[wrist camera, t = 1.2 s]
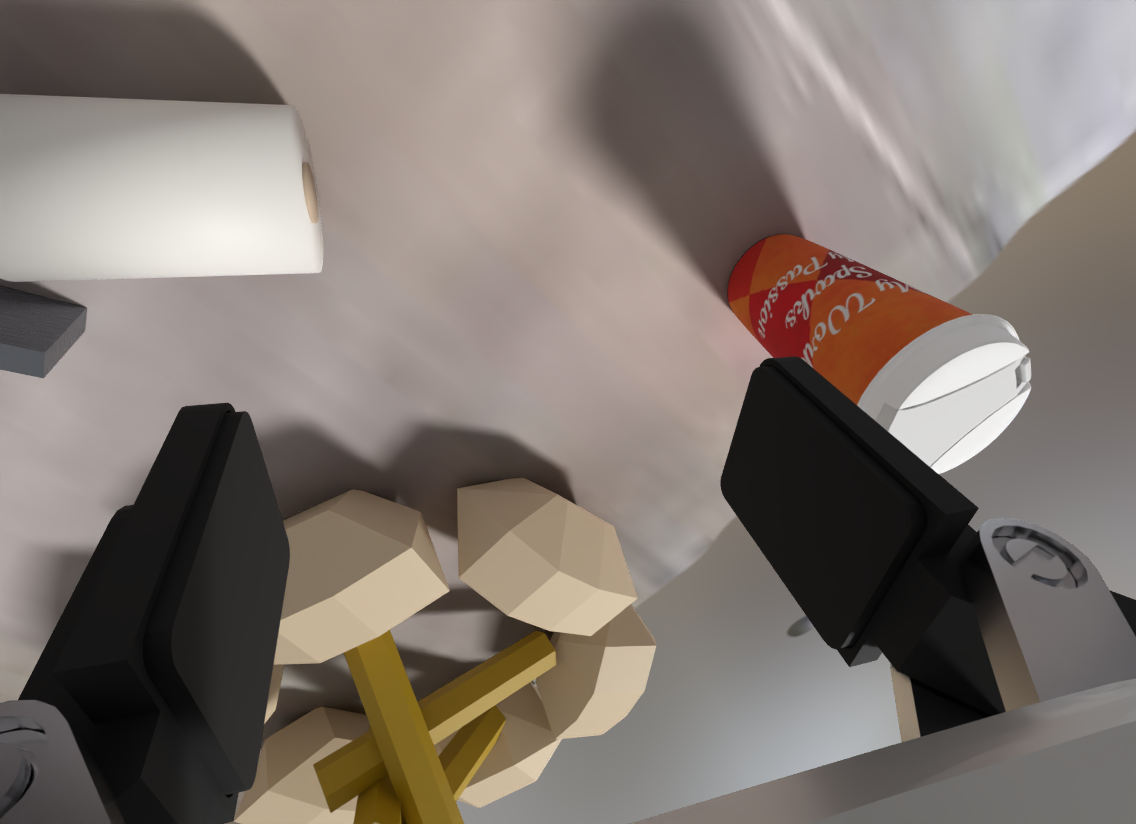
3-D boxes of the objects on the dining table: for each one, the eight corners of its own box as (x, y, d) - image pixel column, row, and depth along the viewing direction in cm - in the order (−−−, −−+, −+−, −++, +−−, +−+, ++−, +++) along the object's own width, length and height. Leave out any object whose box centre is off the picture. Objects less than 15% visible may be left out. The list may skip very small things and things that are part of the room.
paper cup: (808, 184, 31) (1045, 289, 20) (842, 287, 35) (1049, 417, 24) (687, 273, 32) (848, 418, 21) (735, 361, 36) (888, 516, 26)
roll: (64, 237, 24) (-3, 314, 19) (-20, 72, 20) (-129, 123, 15) (329, 233, 26) (322, 300, 22) (302, 86, 22) (287, 134, 18)
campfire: (16, 607, 33) (-225, 1013, 20) (542, 369, 33) (650, 616, 20) (350, 784, 55) (341, 1033, 42) (667, 640, 55) (758, 844, 42)
